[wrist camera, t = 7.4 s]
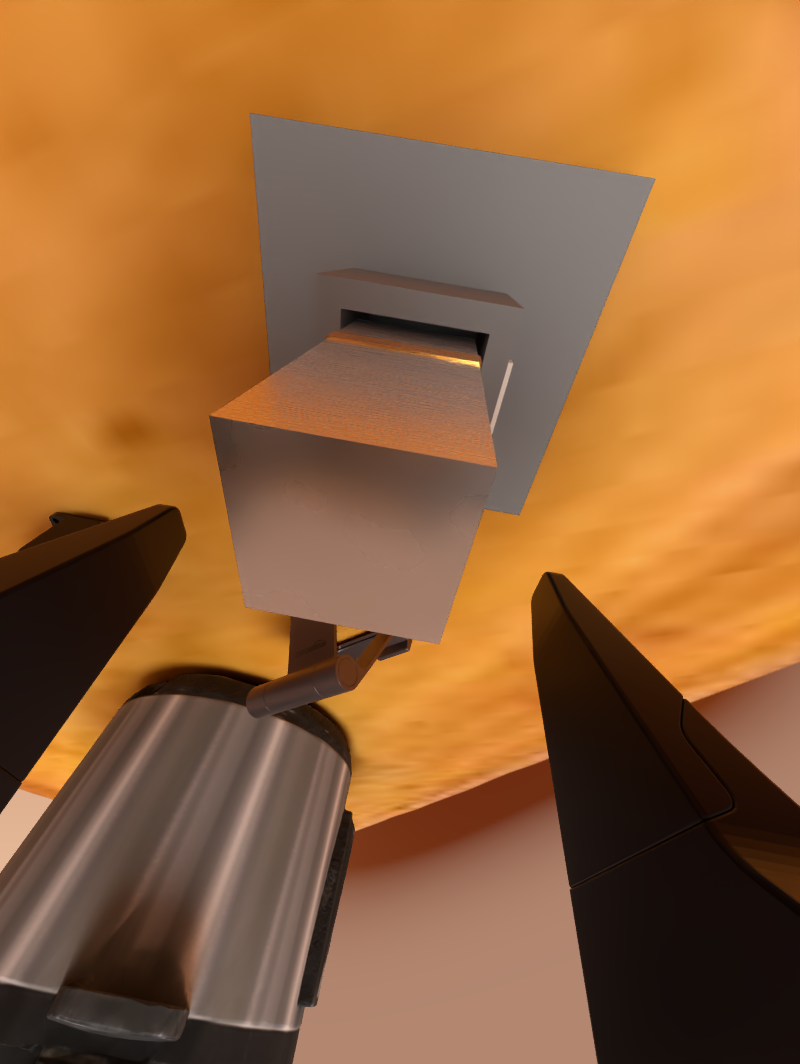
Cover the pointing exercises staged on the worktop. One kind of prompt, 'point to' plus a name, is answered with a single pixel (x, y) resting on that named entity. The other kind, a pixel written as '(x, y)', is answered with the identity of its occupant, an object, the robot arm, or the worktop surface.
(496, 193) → the grey socket plate
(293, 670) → the portable electronic device stand
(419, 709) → the worktop surface
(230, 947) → the pressure cooker
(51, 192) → the worktop surface
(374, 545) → the steel column
